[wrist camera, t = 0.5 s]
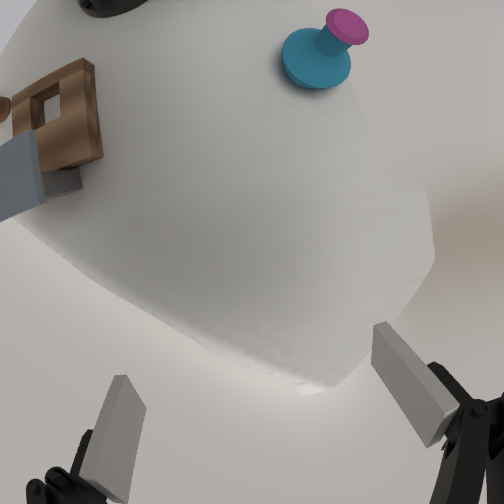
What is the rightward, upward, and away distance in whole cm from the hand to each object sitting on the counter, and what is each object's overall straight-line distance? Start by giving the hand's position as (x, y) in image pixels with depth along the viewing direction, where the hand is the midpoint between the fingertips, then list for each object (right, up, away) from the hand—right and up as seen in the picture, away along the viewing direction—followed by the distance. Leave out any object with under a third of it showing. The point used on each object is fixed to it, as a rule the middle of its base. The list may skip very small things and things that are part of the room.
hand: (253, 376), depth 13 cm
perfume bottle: (+8, +32, +20) cm, 39 cm away
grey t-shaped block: (-26, +18, +20) cm, 38 cm away
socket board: (-29, +25, +18) cm, 42 cm away
